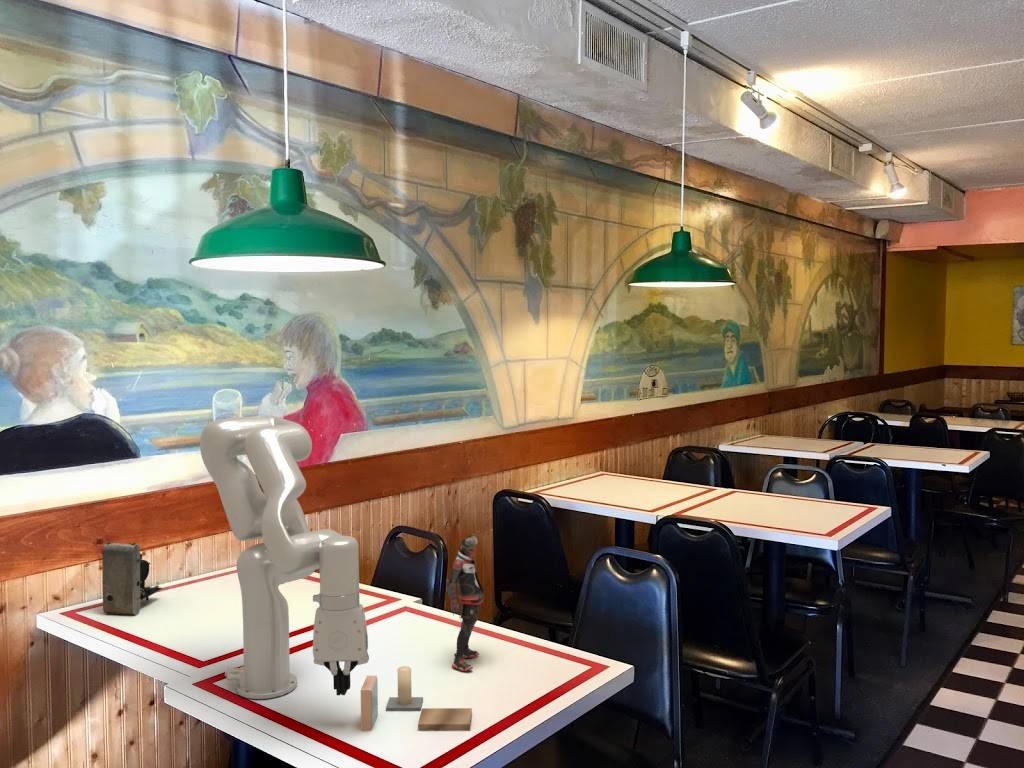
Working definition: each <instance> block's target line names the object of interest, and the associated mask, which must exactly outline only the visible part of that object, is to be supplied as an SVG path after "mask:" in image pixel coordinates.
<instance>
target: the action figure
mask: <svg viewBox="0 0 1024 768" xmlns="http://www.w3.org/2000/svg"><path fill="white" fill-rule="evenodd" d="M478 543H479V540H478V538H477V537H475V536H468V537H465V538H463V539H462V540H461V546H460V549H458V550H457V551H458V552H457V556H456V557H455V560H454V562H453V564H452V569H451V571H450V577H449V578H448V579H446V581H445V585H446V590H447V594H448V597H449V599H450V605H449V606H450V611H451V612H452V616H453V617H454V616H455V614H458V616H459V617H458V618H459V621H461V624H460V626H461V627H460V628H459V631H458V635H457V638H456V652H454V654H453V655H454V660H453V661H452V662H451V667H452V669H456V670H459V671H461V672H468V671H471V670H472V669H474V666H473V665H472V664H468V663H467V662H466V661H465V659H466V660H467V659H475V658H478V657H479V655H480V653H479V651H478V650H472V649H470V648H469V647H470V645H469V641H470V638H471V635H472V631H473V629H474V627H475V624H476V623H477V621H478V619H479V616H478V615H479V614H480V613H481V604H482V603H483V602H484V599H485V598H484V595H485V594H486V593H485V590H484V587H483V586H482V584H481V581H480V579H479V576H478V572H477V569H476V568H477V567H476V562H475V560H474V555H475V553H476V551H475V546H476V545H477V544H478ZM457 587H458V588H457ZM458 599H459V601H460V602H458ZM460 604H461V605H460ZM460 608H461V609H460ZM459 611H460V612H459Z"/></svg>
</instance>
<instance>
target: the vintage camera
mask: <svg viewBox="0 0 1024 768" xmlns="http://www.w3.org/2000/svg"><path fill="white" fill-rule="evenodd" d="M101 550H102V551H101V555H102V563H101V564H102V567H101V568H102V574H101V575H102V612H103V613H104V614H105V613H108V614H107V615H119V614H125V615H127V616H137V615H138V614H139V613H140V611H141V602H142V600H144V599H145V600H146V601H149V597H151V596H153V595H154V594H155V593H157V592H159V591H160V590H162V589H163V588H162V587H160V585H158V584H157V585H155V586H153V587H151V586H149V585H148V586H145V585H146V580H147V579H148V576H149V573H150V565H151V562H148V561H147V560H145V559H143V554H142V553H141V551H140V550H141V547H140V546H139V544H138V543H136V542H132V543H131V542H130V543H128V544H127V543H120V542H119V543H118V542H114V543H113V542H109V541H108V542H106V543H105V544H104V545H103V547H102V549H101ZM136 614H137V615H136Z"/></svg>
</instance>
